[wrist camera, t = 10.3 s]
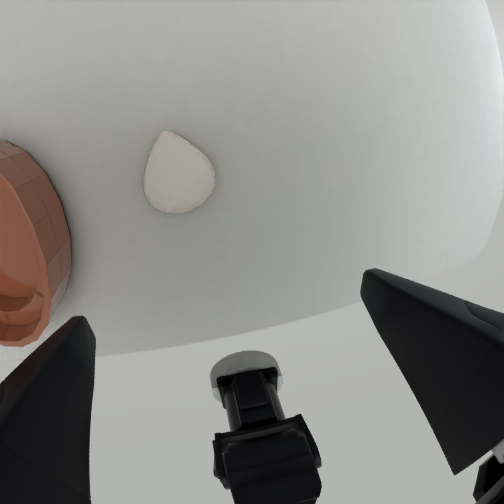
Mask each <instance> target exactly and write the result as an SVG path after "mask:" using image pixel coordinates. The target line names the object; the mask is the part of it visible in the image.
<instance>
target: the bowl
mask: <svg viewBox="0 0 504 504" xmlns="http://www.w3.org/2000/svg"><path fill="white" fill-rule="evenodd" d="M71 267H72V264H71V244H70V234H69V230H68V227H67V223H66V220H65V216H64V212H63V208H62V204H61V202H60V200H59V198H58V196H57V194H56V192H55V190H54V188H53V186H52V184H51V182H50V180H49V178H48V176H47V174H46V173H45V172H44V171H43V170H42V169H41V168H40V166H39V165H38V164H37V163H36V162H35V161H34V160H33V159H32V157H31V156H30V155H29V154H28V153H27V152H26V151H24V150H22V149H20V148H18V147H16V146H14V145H12V144H10V143H8V142H6V141H0V345H3V346H12V347H23V346H25V345H27V344H30V343H32V342H34V341H36V340H38V339H39V337H40V335H41V334H42V332H43V331H44V329H45V328H46V326H47V325H48V323H49V321H50V319H51V317H52V315H53V313H54V311H55V309H56V307H57V306H58V304H59V302H60V300H61V298H62V296H63V295H64V293H65V291H66V288H67V284H68V279H69V275H70V271H71Z"/></svg>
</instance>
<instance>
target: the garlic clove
mask: <svg viewBox="0 0 504 504" xmlns="http://www.w3.org/2000/svg"><path fill="white" fill-rule="evenodd" d="M215 183H216V179H215V171H214V168H213V166H212V164H211V162H210V160H209V159H208V158H207V157H206V156H205V155H204V154H203V153H202V152H201V151H200V150H199V149H197V148H196V147H195V146H194V145H192V144H191V143H190V142H188V141H186V140H185V139H183V138H181V137H179V136H178V135H176V134H174V133H172V132H169V131H163V132H161V133H160V135H159V136H158V138H157V140H156V142H155V144H154V146H153V148H152V150H151V153H150V155H149V158H148V161H147V164H146V168H145V172H144V178H143V188H144V193H145V195H146V197H147V199H148V201H149V203H150V204H151V205H152V206H153V207H155V208H156V209H157V210H159V211H162V212H165V213H173V214H178V213H184V212H189V211H191V210H193V209H195V208H197V207H199V206H200V205H201V204H203V203H204V202H205V201H206V200H207V199H208V198H209V196H210V195H211V193H212V191H213V188H214V186H215Z"/></svg>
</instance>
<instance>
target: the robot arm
mask: <svg viewBox="0 0 504 504" xmlns="http://www.w3.org/2000/svg"><path fill="white" fill-rule="evenodd" d="M360 294H361V298H362V300H363V302H364V304H365V306H366V308H367V310H368V312H369V314H370V316H371V318H372V320H373V323H374V325H375V327H376V329H377V331H378V333H379V334H380V336H381V338H382V340H383V341H384V343H385V344H386V346H387V348H388V349H389V351H390V353H391V355H392V356H393V358H394V360H395V361H396V363H397V365H398V367H399V368H400V370H401V372H402V374H403V375H404V377H405V379H406V381H407V382H408V384H409V386H410V388H411V390H412V391H413V393H414V395H415V397H416V399H417V401H418V403H419V404H420V406H421V408H422V410H423V412H424V414H425V416H426V417H427V420H428V422H429V424H430V426H431V428H432V429H433V432H434V434H435V436H436V438H437V440H438V442H439V444H440V446H441V448H442V450H443V452H444V455H445V457H446V459H447V461H448V464H449V466H450V468H451V470H452V472H453V474H454V475H456V474H458V473H459V472H461V471H463V470H464V469H465V468H467V467H468V466H470V465H471V464H473V463H474V462H475V461H477V460H478V459H479V458H481V457H482V456H483V455H485V454H486V453H487V452H489V451H490V450H492V452H493V454H492V455H491V456H490V457H489V458H488V459H487V460H486V461H485V462H484V463H483V464H482V465H480V466H479V471H478V475H477V480H476V484H475V488H474V492H473V496H474V498H475V500H476V503H475V504H504V314H503V313H501V312H497V311H494V310H491V309H488V308H485V307H482V306H480V305H477V304H474V303H471V302H469V301H466V300H463V299H461V298H458V297H455V296H453V295H449V294H447V293H444V292H442V291H439V290H436V289H433V288H431V287H428V286H425V285H422V284H419V283H417V282H414V281H411V280H408V279H405V278H402V277H400V276H397V275H394V274H391V273H388V272H385V271H382V270H379V269H376V268H374V269H369V270H366V271H365V272H364V274H363V279H362V285H361V291H360ZM95 349H96V338H95V335H94V333H93V331H92V329H91V327H90V325H89V323H88V321H87V319H86V318H85V317H84V316H74V317H72V318H71V319H69V320H68V321H67V322H66V323H65V324H64V325H63V326H61V327H60V328H59V329H58V330H57V331H56V332H55V333H53V334H52V335H51V336H50V337H49V338H48V339H47V340H46V341H44V342H43V343H42V344H41V345H40V346H39V347H38V348H37V349H36V350H35V351H34V352H32V353H31V354H30V355H29V356H28V357H27V358H26V359H25V360H24V361H23V362H22V363H21V364H20V365H19V366H18V367H17V368H16V369H15V370H13V372H11V373H10V374H9V375H8V377H6V378H5V380H3V381H2V382H1V384H0V504H91V500H90V498H91V496H90V479H89V477H90V476H89V446H90V443H89V442H90V422H91V409H92V398H93V390H94V374H95ZM216 382H217V386H218V390H219V393H220V397H221V401H222V404H223V407H224V408H225V409H226V410H227V415H228V421H229V426H230V431H231V432H225V433H215V440H213V441H212V442H213V448H214V476H215V477H217V478H218V479H220V481H221V483H222V484H223V486H224V488H225V489H230V490H231V493H232V496H233V500H234V503H235V504H315V503H316V500H317V498H318V497H319V496H320V492H321V488H322V486H321V480H320V477H319V474H318V471H317V468H320V467H321V458H320V454H319V451H318V448H317V445H316V443H315V441H314V439H313V437H312V435H311V433H310V431H309V429H308V427H307V425H306V423H305V421H304V419H303V417H302V415H301V414H298V415H296V416H294V417H291V418H287V419H286V418H285V416H284V413H283V410H282V407H281V404H280V401H279V398H278V395H277V382H278V371H277V368H276V367H268V368H264V369H259V370H253V371H248V372H243V373H237V374H231V375H225V376H219V377H217V378H216Z"/></svg>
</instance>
